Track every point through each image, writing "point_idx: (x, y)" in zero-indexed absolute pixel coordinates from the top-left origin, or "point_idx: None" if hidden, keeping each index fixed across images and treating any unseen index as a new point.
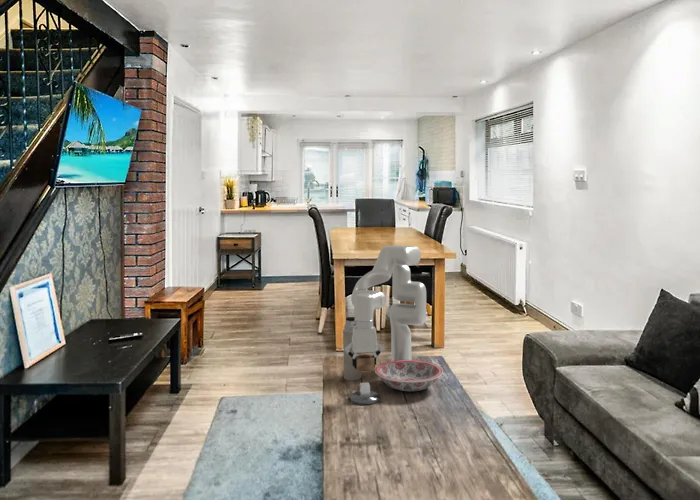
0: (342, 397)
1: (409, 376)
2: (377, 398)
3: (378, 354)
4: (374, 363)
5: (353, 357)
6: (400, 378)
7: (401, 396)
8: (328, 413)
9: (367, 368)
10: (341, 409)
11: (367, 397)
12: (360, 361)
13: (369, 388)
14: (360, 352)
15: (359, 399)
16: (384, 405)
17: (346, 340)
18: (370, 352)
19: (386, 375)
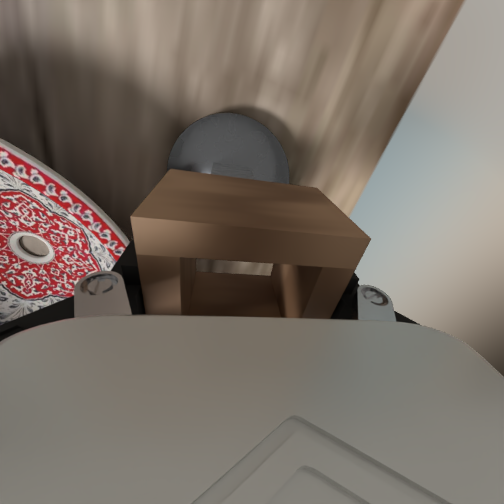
0: None
1: (25, 309)
2: (183, 135)
3: (45, 310)
4: None
5: (375, 299)
6: None
7: (66, 166)
8: (424, 72)
9: (234, 184)
10: (356, 101)
11: (225, 163)
12: (321, 222)
13: (214, 173)
14: (361, 322)
15: (264, 151)
16: (159, 75)
17: None
18: (168, 315)
19: None
